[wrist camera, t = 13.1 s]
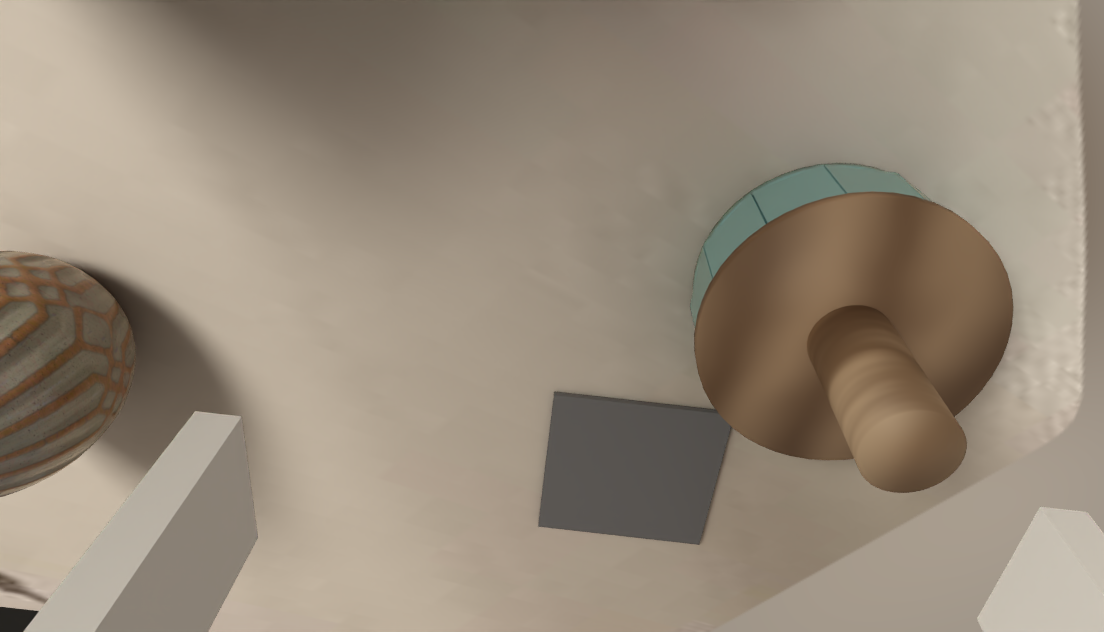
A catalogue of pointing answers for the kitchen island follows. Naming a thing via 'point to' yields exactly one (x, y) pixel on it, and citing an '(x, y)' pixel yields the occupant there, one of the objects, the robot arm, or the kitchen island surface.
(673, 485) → the mat
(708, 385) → the lid
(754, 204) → the bowl
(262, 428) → the kitchen island surface
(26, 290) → the vase
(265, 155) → the kitchen island surface
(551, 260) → the kitchen island surface
